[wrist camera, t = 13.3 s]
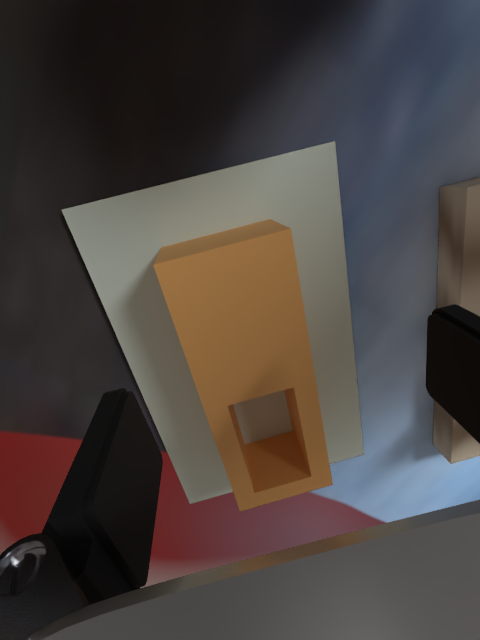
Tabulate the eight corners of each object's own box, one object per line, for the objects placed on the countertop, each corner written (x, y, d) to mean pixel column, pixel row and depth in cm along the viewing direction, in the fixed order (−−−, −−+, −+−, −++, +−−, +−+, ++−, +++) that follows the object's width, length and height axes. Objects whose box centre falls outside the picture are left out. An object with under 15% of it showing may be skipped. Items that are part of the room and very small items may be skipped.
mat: (64, 209, 16) (61, 209, 16) (331, 141, 17) (335, 140, 16) (189, 499, 25) (189, 503, 25) (361, 450, 26) (364, 454, 25)
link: (311, 438, 24) (332, 484, 20) (232, 460, 24) (240, 511, 20) (270, 218, 17) (291, 228, 14) (161, 247, 17) (153, 264, 14)
